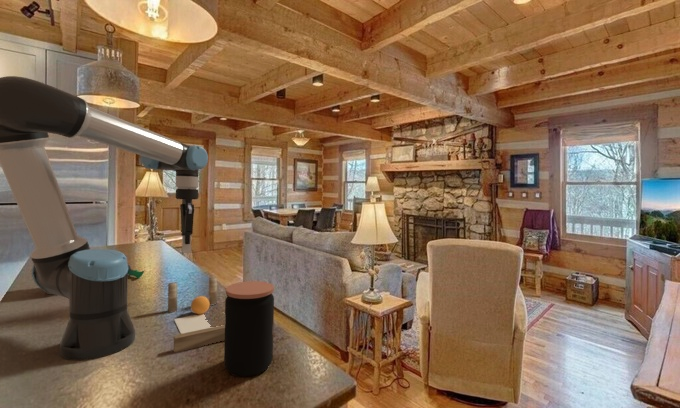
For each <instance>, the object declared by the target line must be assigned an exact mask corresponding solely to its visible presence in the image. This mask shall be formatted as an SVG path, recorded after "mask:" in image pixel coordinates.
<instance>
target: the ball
mask: <svg viewBox="0 0 680 408" xmlns="http://www.w3.org/2000/svg"><path fill="white" fill-rule="evenodd" d="M210 306H211V305H210V303H209V298H207V297H206V296H204V295H201V296H200V295H199V296H197V297H195V298H194V299H193V300H192V301H191V304H190V309H191V311H192V313H194V314H195V315H199V314H204V313H207V311H209V308H210Z"/></svg>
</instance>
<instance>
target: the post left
mask: <svg viewBox="0 0 680 408" xmlns="http://www.w3.org/2000/svg"><path fill="white" fill-rule="evenodd" d="M167 284H168V286H167V290H168V291H167V293H168V294H167V295H168V296H167V304H168V305H167V313H175V311H176V312H177V311H178V282H169V283H167Z"/></svg>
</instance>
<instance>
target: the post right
mask: <svg viewBox="0 0 680 408" xmlns="http://www.w3.org/2000/svg"><path fill="white" fill-rule="evenodd" d="M208 281H209V282H208V300H209V303H210V304H215V303H217V304H218V277H216V276H215V277H210V278H209V279H208Z"/></svg>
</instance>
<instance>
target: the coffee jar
mask: <svg viewBox="0 0 680 408" xmlns="http://www.w3.org/2000/svg"><path fill="white" fill-rule="evenodd" d="M274 291H275V286H274V285H273V284H272V283H270V282H266V281H260V280H249V281H247V280H246V281H238V282H235V283H232V284H230V285H228V286H226V288H225V295H226V297H225V300H224V301H225V302H224V310H225V311H224V314H225V341H224V347H223V348H224V355H223V357H224V358H223V360H224V361H223V362H224V368H225V369H226V370H227V372H228V371H229V372H228V374H230V373H231V374H230V375H232V374H233V376H234V375H236V376H235V377H239V376H240V378H241V377H242V376H243V377H242V378H247V377H248V376H249V377H254V376H253V375H255V376H257V375H259V374H258V373H260V374H262V373H263V371H264V370H265V371H267V370H268V368H269V367H270V365H271V364H272V362H273V358H274V355H273V354H274V321H275V320H274V319H275V318H274V317H275V315H274V314H275V312H274V311H275V310H274V309H275V297H274V294H273V292H274ZM268 366H269V367H268ZM265 371H264V372H265ZM261 372H262V373H261ZM256 374H257V375H256Z"/></svg>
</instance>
